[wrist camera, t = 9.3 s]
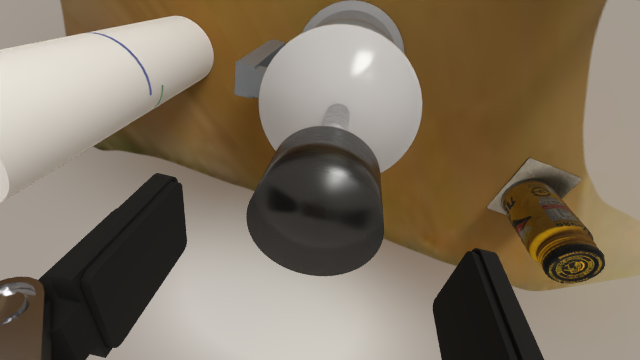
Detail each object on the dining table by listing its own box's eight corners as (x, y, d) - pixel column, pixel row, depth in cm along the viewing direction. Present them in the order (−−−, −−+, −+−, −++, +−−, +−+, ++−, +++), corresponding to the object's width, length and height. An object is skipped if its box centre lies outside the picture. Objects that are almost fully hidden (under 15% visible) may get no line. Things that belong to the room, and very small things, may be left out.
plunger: (386, 86, 19) (403, 190, 10) (364, 155, 22) (362, 287, 13) (307, 68, 19) (250, 155, 10) (295, 139, 22) (243, 259, 13)
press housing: (419, 14, 31) (460, 42, 17) (384, 120, 37) (394, 201, 24) (286, -17, 31) (223, -13, 17) (274, 95, 38) (221, 161, 24)
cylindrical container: (209, 18, 34) (-43, 83, 13) (217, 84, 38) (33, 214, 17) (147, 13, 34) (-192, 67, 13) (161, 78, 38) (-85, 198, 17)
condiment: (486, 207, 42) (522, 277, 32) (528, 157, 38) (586, 221, 28) (533, 224, 43) (583, 298, 33) (581, 177, 38) (656, 247, 28)
